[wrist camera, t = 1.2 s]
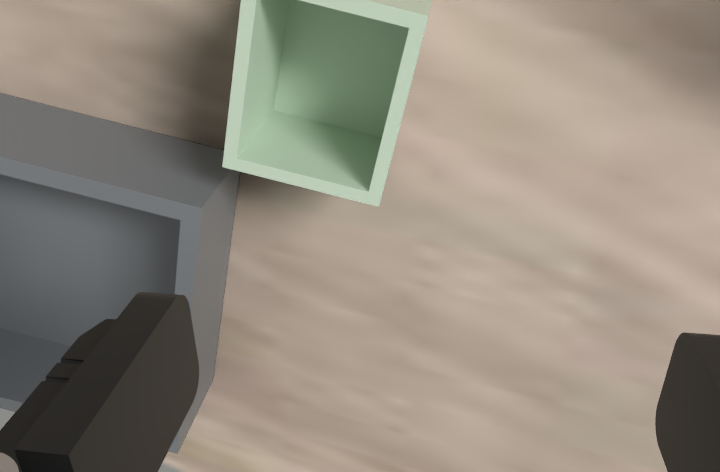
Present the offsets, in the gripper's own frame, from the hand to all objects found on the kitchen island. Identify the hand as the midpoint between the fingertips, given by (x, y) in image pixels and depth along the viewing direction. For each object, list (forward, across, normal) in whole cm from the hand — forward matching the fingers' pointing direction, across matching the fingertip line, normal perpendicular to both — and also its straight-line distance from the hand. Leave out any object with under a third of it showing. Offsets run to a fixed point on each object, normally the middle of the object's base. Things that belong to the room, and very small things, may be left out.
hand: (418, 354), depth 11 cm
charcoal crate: (+19, +18, +10) cm, 27 cm away
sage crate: (+19, +4, -1) cm, 19 cm away
